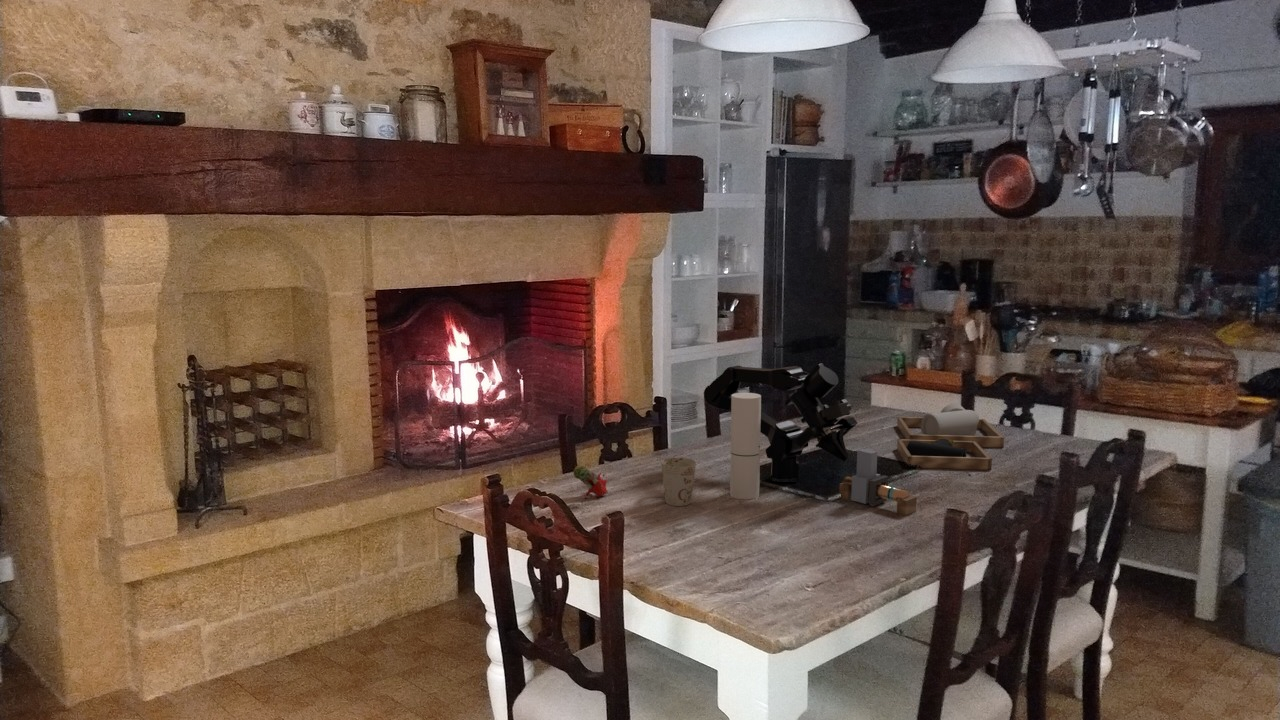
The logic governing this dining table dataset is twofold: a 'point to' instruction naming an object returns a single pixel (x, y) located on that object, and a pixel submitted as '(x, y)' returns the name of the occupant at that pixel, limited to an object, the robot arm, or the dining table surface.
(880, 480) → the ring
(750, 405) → the cylindrical container
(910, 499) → the cradle
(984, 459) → the wooden tray
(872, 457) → the sleeve
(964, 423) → the elbow connector
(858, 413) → the dining table surface
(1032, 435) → the dining table surface
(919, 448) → the pipe connector
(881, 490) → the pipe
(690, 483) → the beige paper cup
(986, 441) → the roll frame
